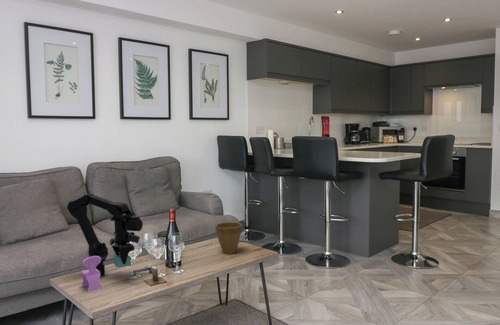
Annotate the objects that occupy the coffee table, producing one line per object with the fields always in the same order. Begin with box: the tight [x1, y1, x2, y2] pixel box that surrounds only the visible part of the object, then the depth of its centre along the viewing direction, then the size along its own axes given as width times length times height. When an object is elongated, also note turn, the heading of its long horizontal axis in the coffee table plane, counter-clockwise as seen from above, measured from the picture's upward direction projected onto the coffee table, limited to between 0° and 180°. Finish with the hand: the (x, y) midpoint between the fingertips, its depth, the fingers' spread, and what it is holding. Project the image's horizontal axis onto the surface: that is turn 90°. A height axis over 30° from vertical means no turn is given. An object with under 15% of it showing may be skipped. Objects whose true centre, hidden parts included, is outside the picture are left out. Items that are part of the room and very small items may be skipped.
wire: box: [132, 266, 155, 277], centre depth 198 cm, size 9×7×2 cm
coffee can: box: [156, 230, 168, 261], centre depth 227 cm, size 10×10×14 cm
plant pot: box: [215, 221, 242, 254], centre depth 236 cm, size 15×15×16 cm
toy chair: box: [80, 256, 103, 293], centre depth 184 cm, size 8×9×15 cm
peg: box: [143, 268, 168, 287], centre depth 190 cm, size 8×8×6 cm
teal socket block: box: [113, 255, 132, 268], centre depth 195 cm, size 6×6×4 cm
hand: (122, 262), depth 195 cm, fingers closed on teal socket block, 6 cm apart
